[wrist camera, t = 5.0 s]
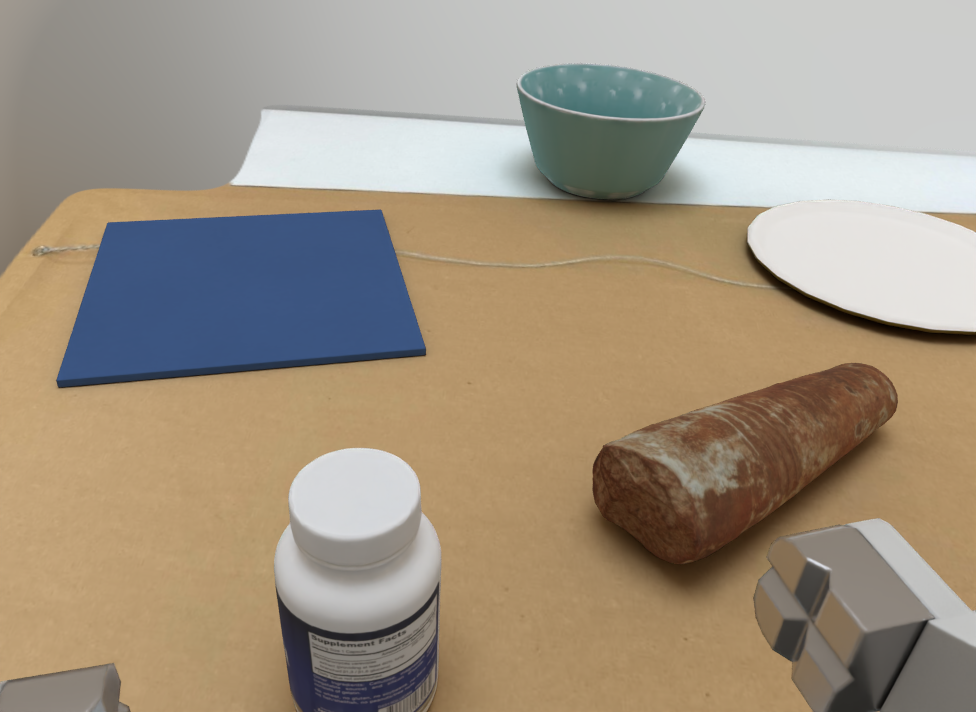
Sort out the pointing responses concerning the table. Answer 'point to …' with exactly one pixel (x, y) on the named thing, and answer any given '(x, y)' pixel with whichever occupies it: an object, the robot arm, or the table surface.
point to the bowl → (605, 126)
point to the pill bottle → (359, 586)
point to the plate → (873, 262)
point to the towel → (240, 297)
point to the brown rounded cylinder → (735, 459)
